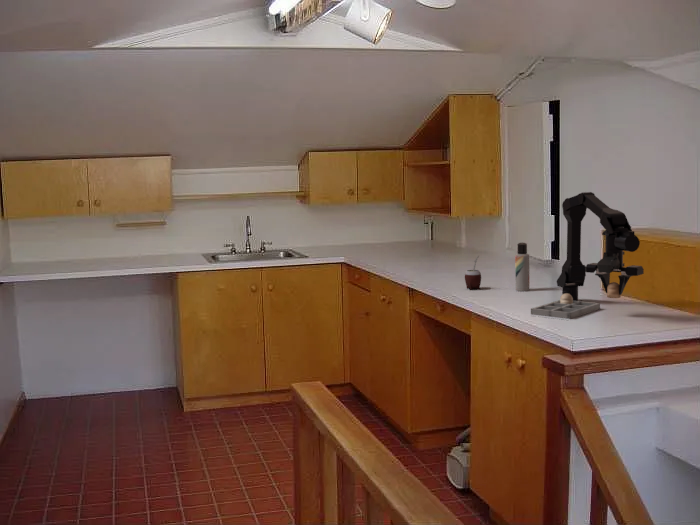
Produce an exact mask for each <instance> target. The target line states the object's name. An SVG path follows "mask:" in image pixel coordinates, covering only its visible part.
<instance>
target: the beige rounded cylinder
mask: <svg viewBox="0 0 700 525" xmlns="http://www.w3.org/2000/svg"><path fill="white" fill-rule="evenodd" d="M559 300H560V303H564V304H572V303H573V298H572V296H571V295H570V294H568V293H565V294H563V295H562V294H561V296H560V299H559Z"/></svg>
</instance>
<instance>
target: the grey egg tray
mask: <svg viewBox="0 0 700 525" xmlns="http://www.w3.org/2000/svg"><path fill="white" fill-rule="evenodd" d="M598 310H601V303H599V302H591V301H581V300H580V301H573V303H572V304H564V303H560V299H559V300H556V301H553V302H548V303H546V304H542V305H539V306H535V307H532V308H530V315H531V316H539V317H543V318H545V319H547V318H550V317H551V319H553V320H555V318H556V319H560V320H561V321H562V320H567V319H568V320H571V319H574V318H577V317H580V316H583V315H585V314H590V313H592V312H595V311H598Z"/></svg>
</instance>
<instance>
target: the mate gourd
mask: <svg viewBox="0 0 700 525" xmlns="http://www.w3.org/2000/svg"><path fill="white" fill-rule="evenodd" d="M479 257H480V255H477V257H475V260H474V261H473V262H474V264H473V268H472V269H469V270H465V274H464V282H465V285H466V288H470V289H469V291H473V290H477V289H480V290H481V282H482V274H481V272H480V270H478V269H476V263H477V260H478V258H479ZM472 289H473V290H472Z"/></svg>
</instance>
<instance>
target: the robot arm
mask: <svg viewBox="0 0 700 525" xmlns="http://www.w3.org/2000/svg"><path fill="white" fill-rule="evenodd" d="M561 207H562V214H563V216H564V218H565V219H566V222H567V225H566V226H567V227H566V232H567V233H566V235H567V236H566V260H565V262H564V263H563V265H562V266H561V273H560V274H559V276H558V278H557V279H556V286H557V287H559V288H562V294H561V296H562V295H563V294H565V293H568V294H570V295H571V296H572V298H573V301H582V300H581V299H579V287H584V284H585V279H586V276H587V275H586V273H590V274H592V273H593V274H594V273H595V274H594V275H595V276H597V277H598V278H599V279H600V281H601V283H602V285H603V288H604V292H605V293H606V294H607V287H608V285H609V284H610V283H611V282H610V281H611V280H610V278H611V273H620V275H617V276H618V279H619V281H618V282H619V283H618V284H619V295H622V294H623V293H624V290H625V287H626V285H627V283H628V281H629V279H630V278H631V277H637V276H641V275H643V274H644V273H645V272H644V268H643V266H642V265H628V266H625V262H624V256H625V252H630V253H634V252H636V251H637V250H638V249H639V248H640V243H641V241H640V239H639V237H638V236H637V235H635V231H634V230H632V226H631V224H630V223H629V220H628V219H627V215H626V214H625V213H624V212H622V211H620V210H617V209H614V208H610V207H609V206H608V205H607V204H606V203H604V202H603V201H602V200H601V199H600V198H598V197H597V196H596V195H595V193H594V192H592V191H588V192H587V191H585V192H584V191H583V192H581V193H578V194H577V195H574V196H570V197H567V198H565V199H564V201H563V202H562V204H561ZM587 209H588V210H589V211H591V212H592V213H593V214H594V215H595V216H597V217H598V219H599V223H600V225H601V226H602V227H603V229H604V231H603V232H602V233H601V235H602V236H605V245H604V246H605V247H604V248H605V251H604V252H603V257H602V258H600V260H599V261H598V262H591V263H587V264H586V265H585V264H584V263H583V262H582V261H581V250H582V249H581V246H582V245H581V244H582V221H583V220H584V217H586V215H587ZM582 302H583V301H582Z"/></svg>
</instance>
